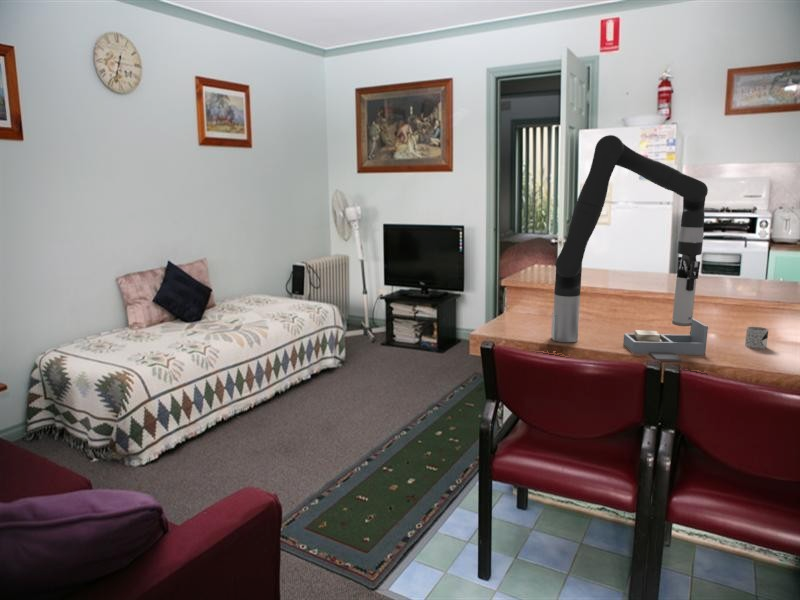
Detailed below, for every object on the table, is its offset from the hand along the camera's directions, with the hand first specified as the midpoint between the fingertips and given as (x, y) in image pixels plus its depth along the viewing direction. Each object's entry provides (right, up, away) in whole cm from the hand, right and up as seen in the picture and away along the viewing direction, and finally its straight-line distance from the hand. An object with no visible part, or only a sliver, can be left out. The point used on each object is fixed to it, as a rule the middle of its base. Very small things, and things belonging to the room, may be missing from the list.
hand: (685, 288), depth 209 cm
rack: (-6, -21, +5) cm, 23 cm away
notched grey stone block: (+30, -21, +10) cm, 37 cm away
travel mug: (0, -13, +2) cm, 13 cm away
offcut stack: (-11, -21, +6) cm, 25 cm away
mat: (-10, -23, -6) cm, 26 cm away
